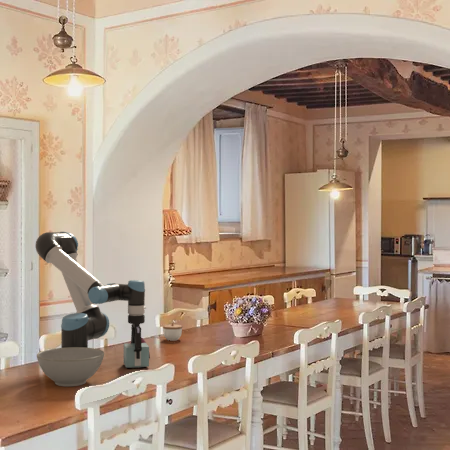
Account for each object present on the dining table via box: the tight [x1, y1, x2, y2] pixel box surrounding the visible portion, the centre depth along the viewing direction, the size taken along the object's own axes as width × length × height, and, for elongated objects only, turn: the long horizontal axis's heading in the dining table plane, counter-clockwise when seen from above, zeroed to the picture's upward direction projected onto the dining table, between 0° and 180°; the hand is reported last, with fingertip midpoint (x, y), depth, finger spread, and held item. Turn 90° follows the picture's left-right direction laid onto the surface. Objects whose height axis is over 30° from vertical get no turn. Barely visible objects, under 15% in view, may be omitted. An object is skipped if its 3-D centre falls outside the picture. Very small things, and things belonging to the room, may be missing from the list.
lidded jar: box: [162, 322, 183, 342], centre depth 381 cm, size 11×11×9 cm
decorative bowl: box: [36, 347, 105, 387], centre depth 280 cm, size 27×27×12 cm
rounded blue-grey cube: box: [122, 342, 150, 368], centre depth 312 cm, size 10×10×9 cm
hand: (136, 363), depth 312 cm, fingers closed on rounded blue-grey cube, 10 cm apart
